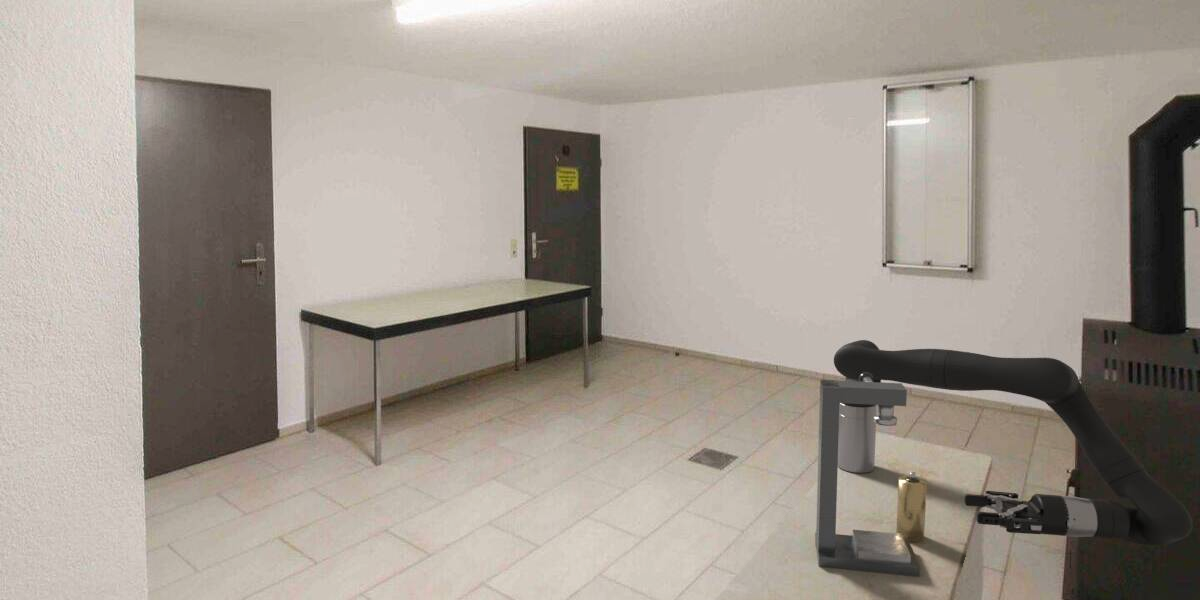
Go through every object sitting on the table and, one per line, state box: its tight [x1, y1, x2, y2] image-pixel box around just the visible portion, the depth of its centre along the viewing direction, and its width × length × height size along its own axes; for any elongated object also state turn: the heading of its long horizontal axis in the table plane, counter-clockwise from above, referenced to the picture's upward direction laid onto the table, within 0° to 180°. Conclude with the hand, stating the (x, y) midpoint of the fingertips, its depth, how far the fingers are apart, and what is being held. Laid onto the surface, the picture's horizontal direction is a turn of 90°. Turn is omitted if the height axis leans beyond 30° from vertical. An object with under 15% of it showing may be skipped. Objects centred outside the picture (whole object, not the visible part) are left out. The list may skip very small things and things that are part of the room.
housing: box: [895, 471, 928, 544], centre depth 139 cm, size 5×5×14 cm
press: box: [814, 372, 921, 577], centre depth 133 cm, size 18×18×34 cm
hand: (970, 508), depth 137 cm, fingers open, 8 cm apart
